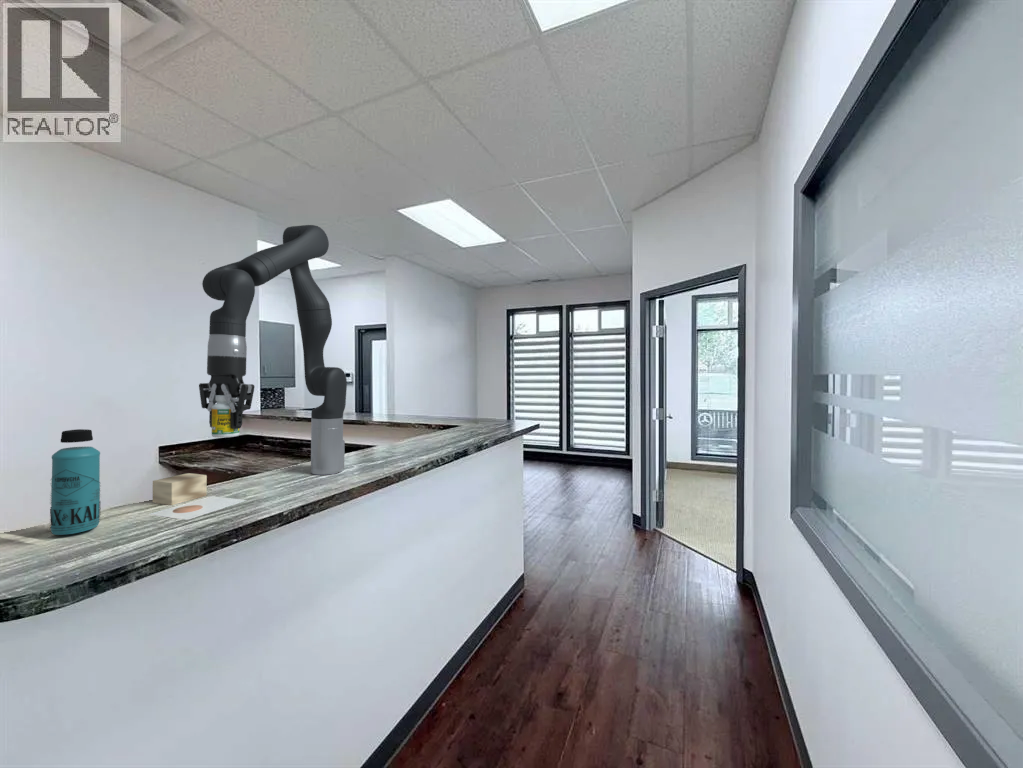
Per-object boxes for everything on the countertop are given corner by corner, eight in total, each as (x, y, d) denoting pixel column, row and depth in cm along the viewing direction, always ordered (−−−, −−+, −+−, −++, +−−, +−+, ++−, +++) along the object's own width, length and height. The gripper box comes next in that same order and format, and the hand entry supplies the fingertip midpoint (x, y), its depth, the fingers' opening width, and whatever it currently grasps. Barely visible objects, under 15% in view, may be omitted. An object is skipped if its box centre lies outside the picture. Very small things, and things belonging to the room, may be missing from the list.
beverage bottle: (53, 535, 77) (53, 428, 77) (103, 527, 81) (103, 426, 81) (45, 546, 72) (45, 433, 72) (99, 537, 76) (99, 430, 76)
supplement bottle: (236, 434, 100) (237, 394, 100) (241, 436, 96) (242, 395, 96) (209, 435, 96) (210, 394, 96) (213, 438, 92) (214, 395, 92)
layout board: (211, 499, 101) (211, 495, 101) (247, 503, 98) (247, 500, 98) (147, 518, 87) (147, 514, 87) (187, 523, 84) (187, 519, 84)
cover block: (188, 497, 103) (188, 473, 102) (206, 499, 101) (206, 475, 101) (152, 506, 95) (152, 480, 95) (171, 509, 93) (171, 483, 93)
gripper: (265, 356, 98) (264, 427, 98) (218, 356, 102) (216, 425, 101) (237, 354, 91) (235, 431, 91) (187, 354, 94) (185, 428, 94)
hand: (225, 427), depth 96 cm, fingers closed on supplement bottle, 5 cm apart
